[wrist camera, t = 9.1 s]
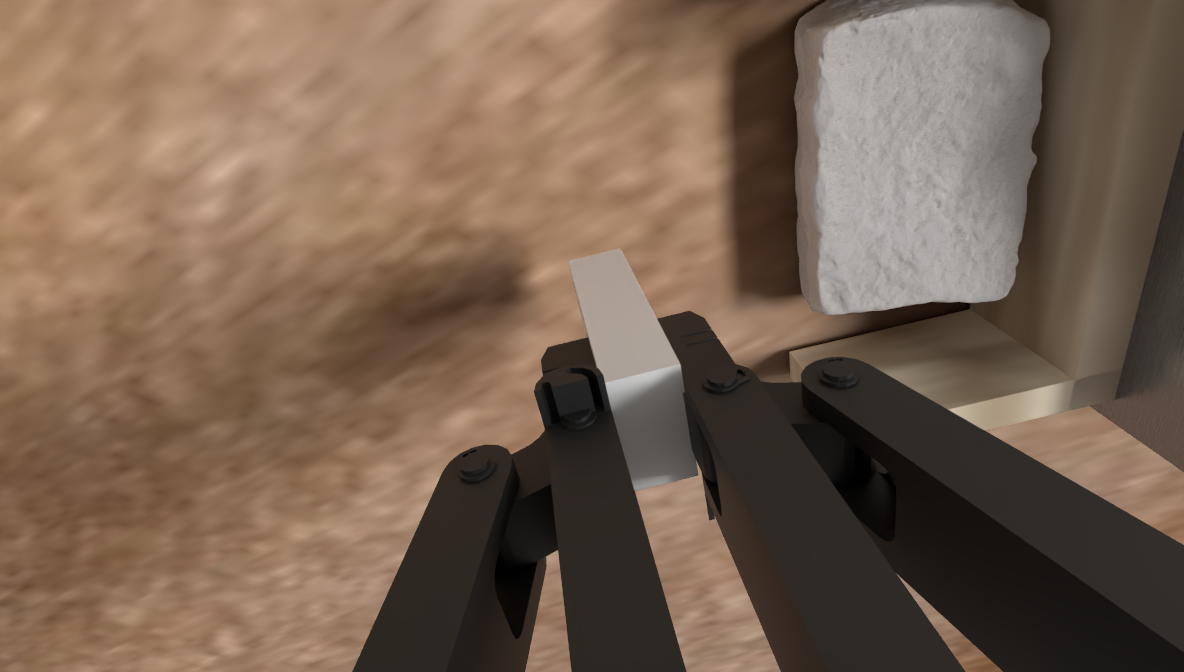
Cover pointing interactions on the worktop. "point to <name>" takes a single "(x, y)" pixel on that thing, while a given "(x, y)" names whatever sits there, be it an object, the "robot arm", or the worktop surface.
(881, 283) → the grey stone block
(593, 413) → the robot arm
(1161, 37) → the cradle
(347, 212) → the worktop surface
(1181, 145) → the wall
